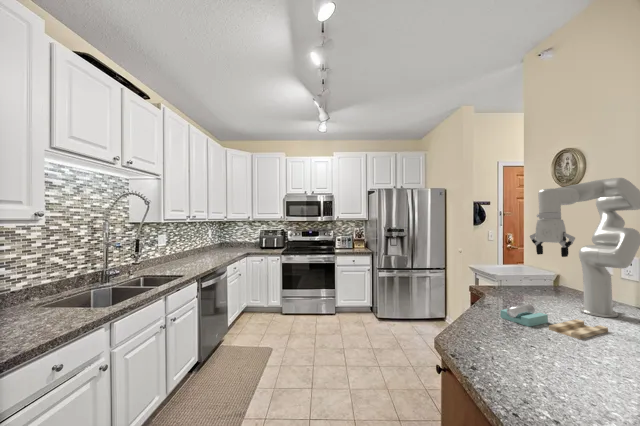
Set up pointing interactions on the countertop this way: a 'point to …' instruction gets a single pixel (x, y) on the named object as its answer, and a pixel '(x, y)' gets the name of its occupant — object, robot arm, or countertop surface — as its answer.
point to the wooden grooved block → (577, 329)
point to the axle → (520, 311)
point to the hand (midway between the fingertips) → (551, 255)
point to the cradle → (526, 318)
